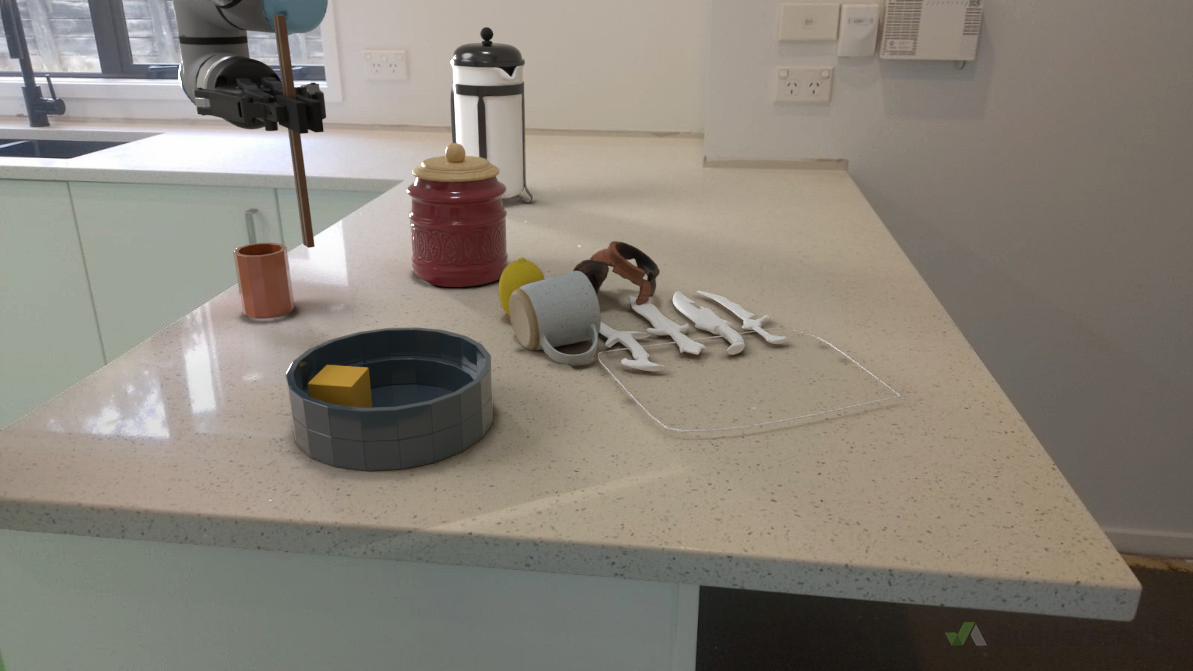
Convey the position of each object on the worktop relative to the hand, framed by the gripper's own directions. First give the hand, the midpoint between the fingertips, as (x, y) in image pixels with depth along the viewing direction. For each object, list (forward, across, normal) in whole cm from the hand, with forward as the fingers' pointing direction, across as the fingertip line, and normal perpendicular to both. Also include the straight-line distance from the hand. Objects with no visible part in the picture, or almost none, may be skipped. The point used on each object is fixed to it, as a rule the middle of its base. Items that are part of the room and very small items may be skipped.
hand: (310, 117), depth 76 cm
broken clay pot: (0, -35, -25) cm, 43 cm away
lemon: (0, -22, -25) cm, 34 cm away
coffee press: (-57, -48, -25) cm, 79 cm away
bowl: (+15, 0, -25) cm, 29 cm away
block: (+11, +4, -24) cm, 27 cm away
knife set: (+18, -35, -25) cm, 47 cm away
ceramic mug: (+9, -22, -25) cm, 34 cm away
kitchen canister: (-21, -25, -25) cm, 41 cm away
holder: (-19, +1, -25) cm, 32 cm away
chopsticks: (-5, 0, -13) cm, 14 cm away
